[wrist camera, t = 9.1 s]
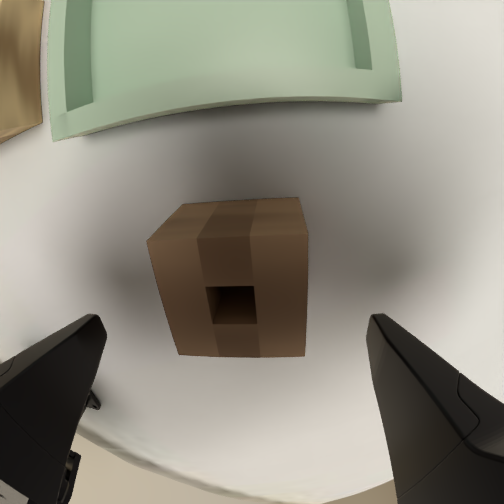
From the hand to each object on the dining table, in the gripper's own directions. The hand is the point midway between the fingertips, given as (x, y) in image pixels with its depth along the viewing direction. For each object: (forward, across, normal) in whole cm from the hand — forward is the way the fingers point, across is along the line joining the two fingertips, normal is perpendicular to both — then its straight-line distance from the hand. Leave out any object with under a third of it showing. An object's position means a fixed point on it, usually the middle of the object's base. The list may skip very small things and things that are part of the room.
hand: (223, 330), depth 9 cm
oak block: (+5, +14, -12) cm, 19 cm away
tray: (+5, 0, -13) cm, 14 cm away
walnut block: (+5, 0, 0) cm, 5 cm away
